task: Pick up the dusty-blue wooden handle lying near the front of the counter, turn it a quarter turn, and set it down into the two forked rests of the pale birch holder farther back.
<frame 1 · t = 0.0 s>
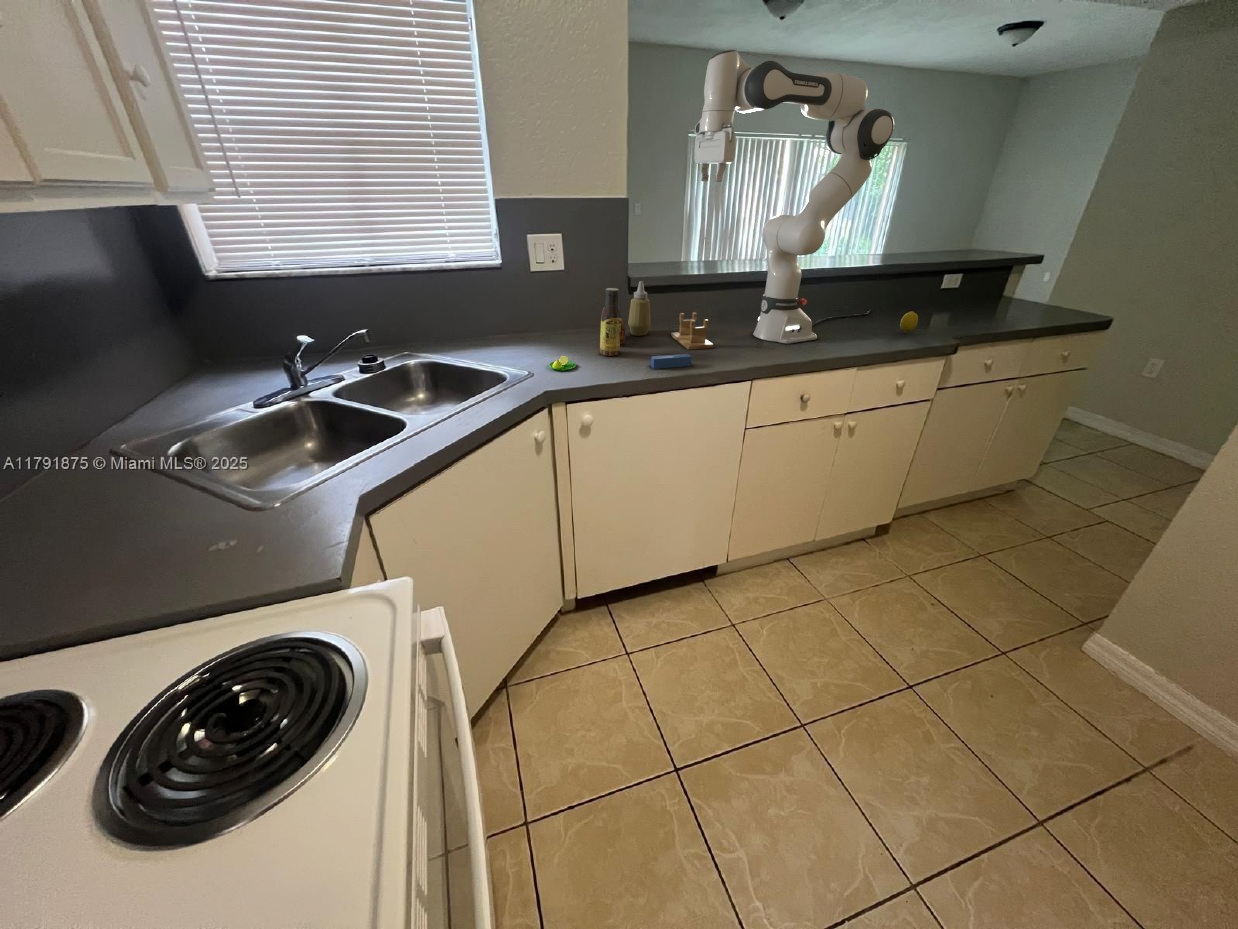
hand: (711, 181, 144), 48 cm above the worktop, tool pointing down, fingers open, 8 cm apart
holder: (691, 341, 168), on the worktop
handle: (670, 366, 146), on the worktop
sauce bottle: (610, 354, 155), on the worktop
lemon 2: (562, 367, 143), on the worktop
squeeze bottle: (638, 334, 175), on the worktop
lemon: (905, 333, 184), on the worktop
tin: (614, 341, 167), on the worktop
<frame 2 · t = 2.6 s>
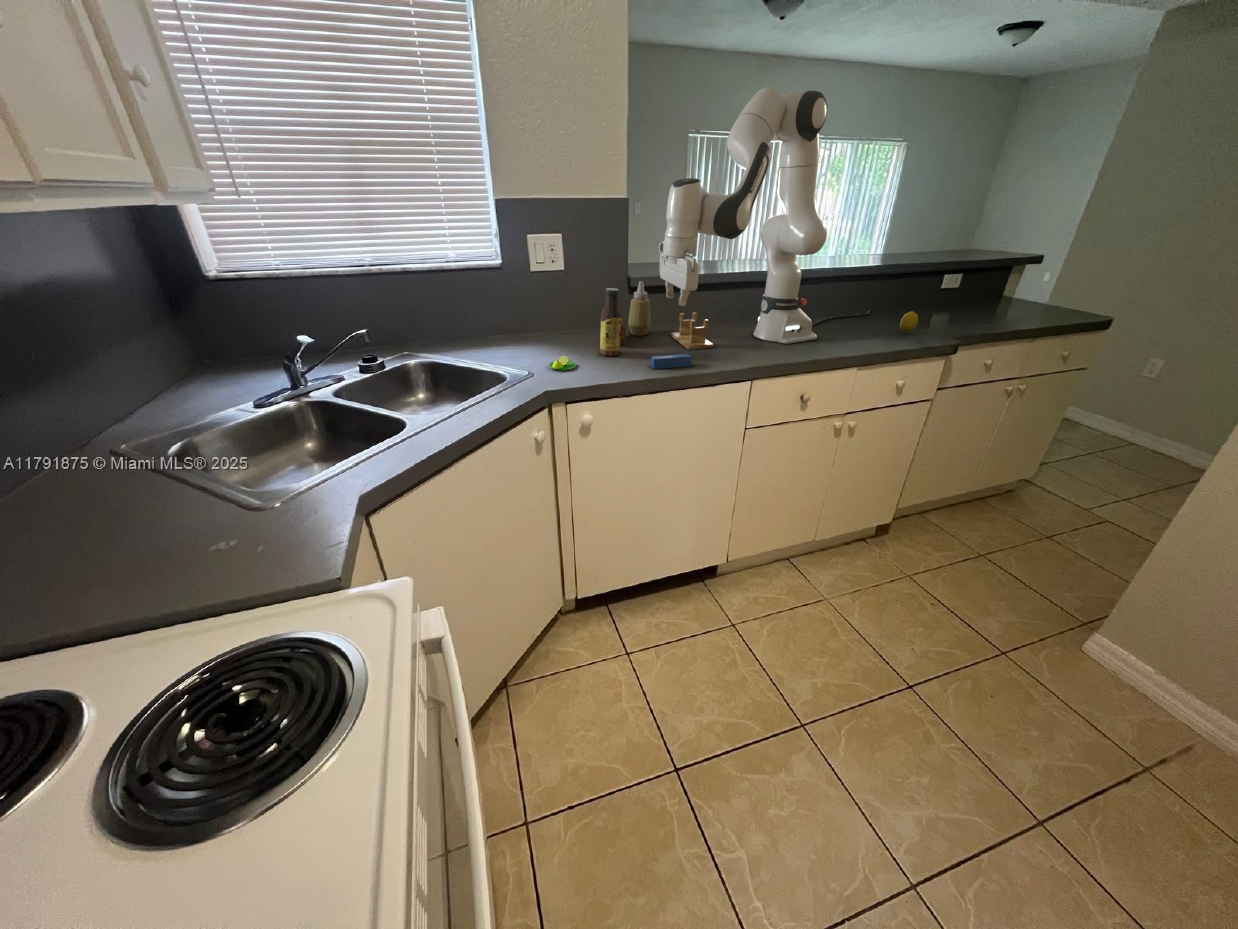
hand: (675, 301, 137), 19 cm above the worktop, tool pointing down, fingers open, 8 cm apart
nothing on the worktop moved.
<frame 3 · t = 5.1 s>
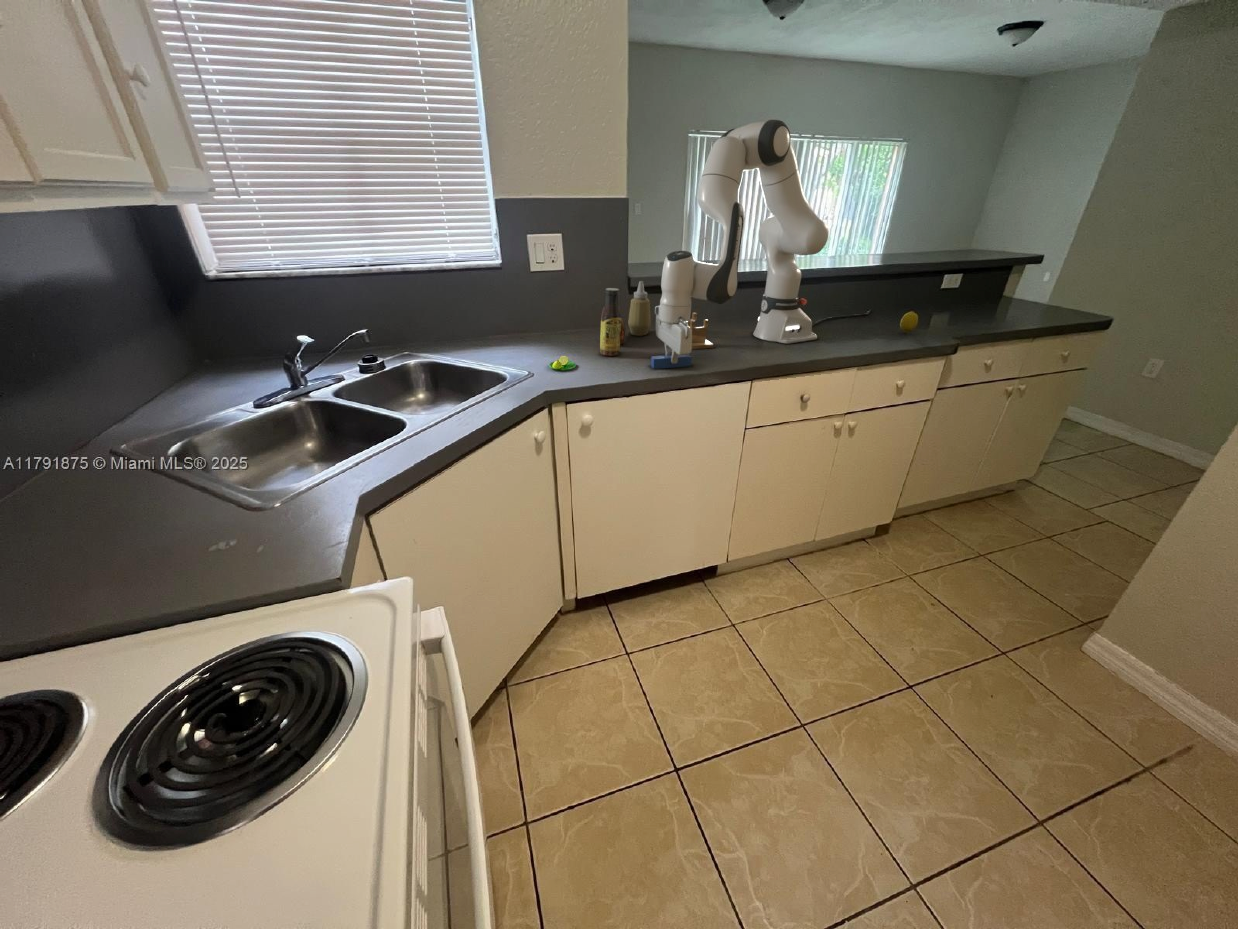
hand: (671, 360, 145), 2 cm above the worktop, tool pointing down, fingers closed on handle, 2 cm apart
handle: (670, 366, 146), on the worktop, touching gripper
everything else where it was.
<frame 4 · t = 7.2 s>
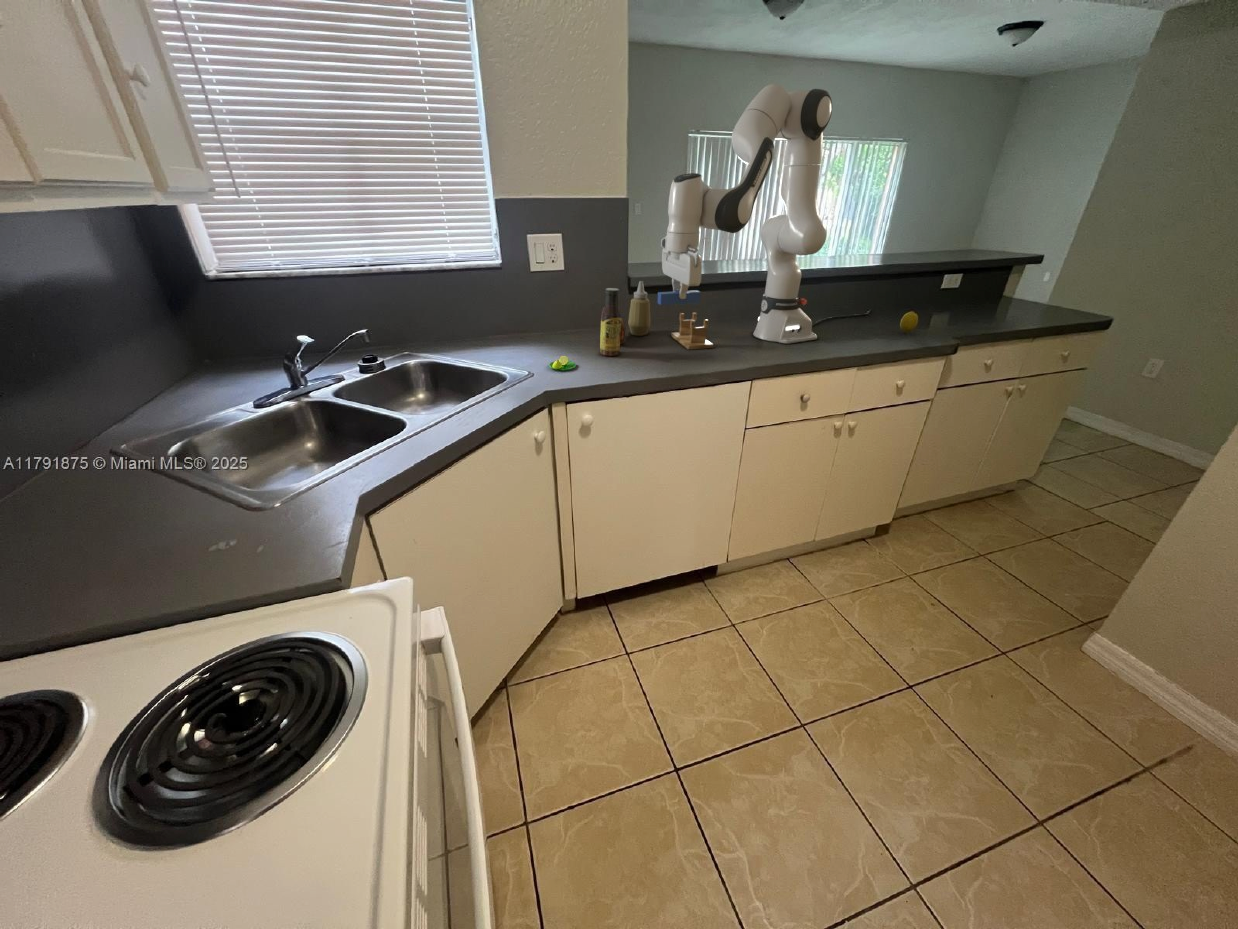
hand: (679, 296, 138), 20 cm above the worktop, tool pointing down, fingers closed on handle, 2 cm apart
handle: (678, 302, 139), point 18 cm above the worktop, touching gripper
everything else where it was.
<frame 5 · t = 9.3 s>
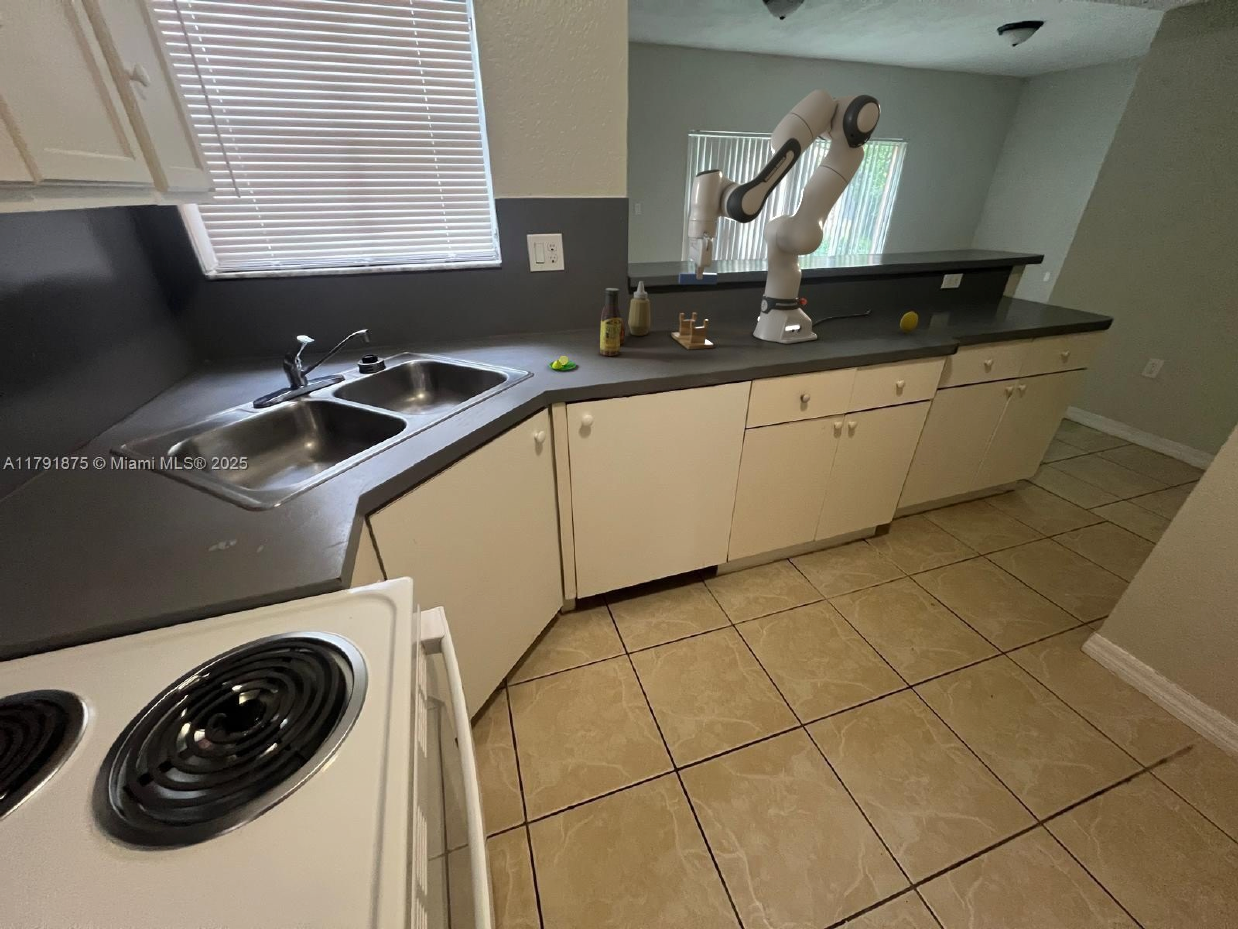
hand: (698, 277, 157), 21 cm above the worktop, tool pointing down, fingers closed on handle, 2 cm apart
handle: (697, 283, 158), point 19 cm above the worktop, touching gripper
everything else where it was.
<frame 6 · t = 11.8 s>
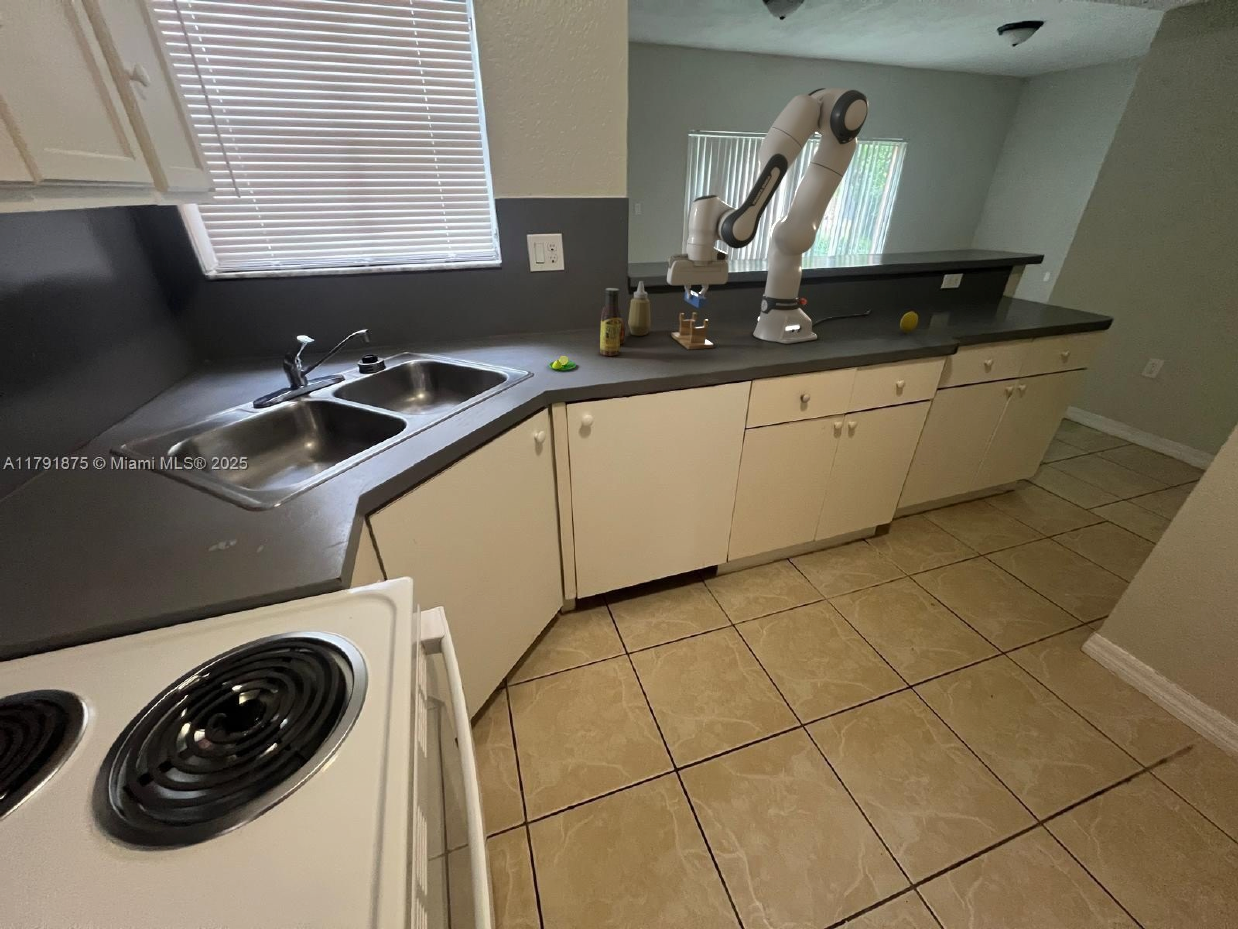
hand: (695, 298, 161), 15 cm above the worktop, tool pointing down, fingers closed on handle, 2 cm apart
handle: (694, 303, 162), point 13 cm above the worktop, touching gripper
everything else where it was.
when the fingers open (8 cm above the worktop, at t = 13.6 s): handle stays where it is, resting on holder.
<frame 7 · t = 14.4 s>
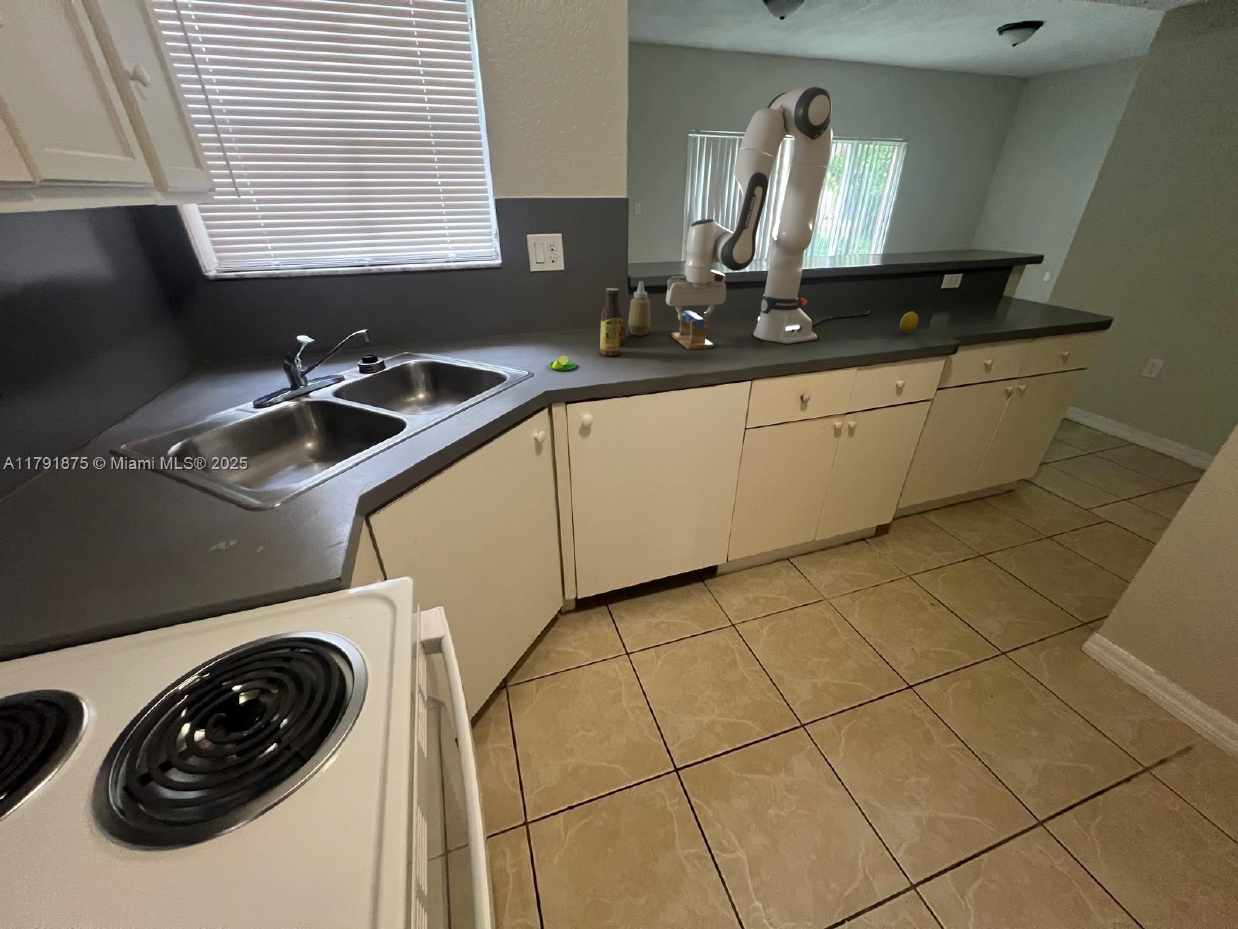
hand: (693, 318, 164), 8 cm above the worktop, tool pointing down, fingers open, 8 cm apart
handle: (692, 323, 165), point 6 cm above the worktop, touching holder
everything else where it was.
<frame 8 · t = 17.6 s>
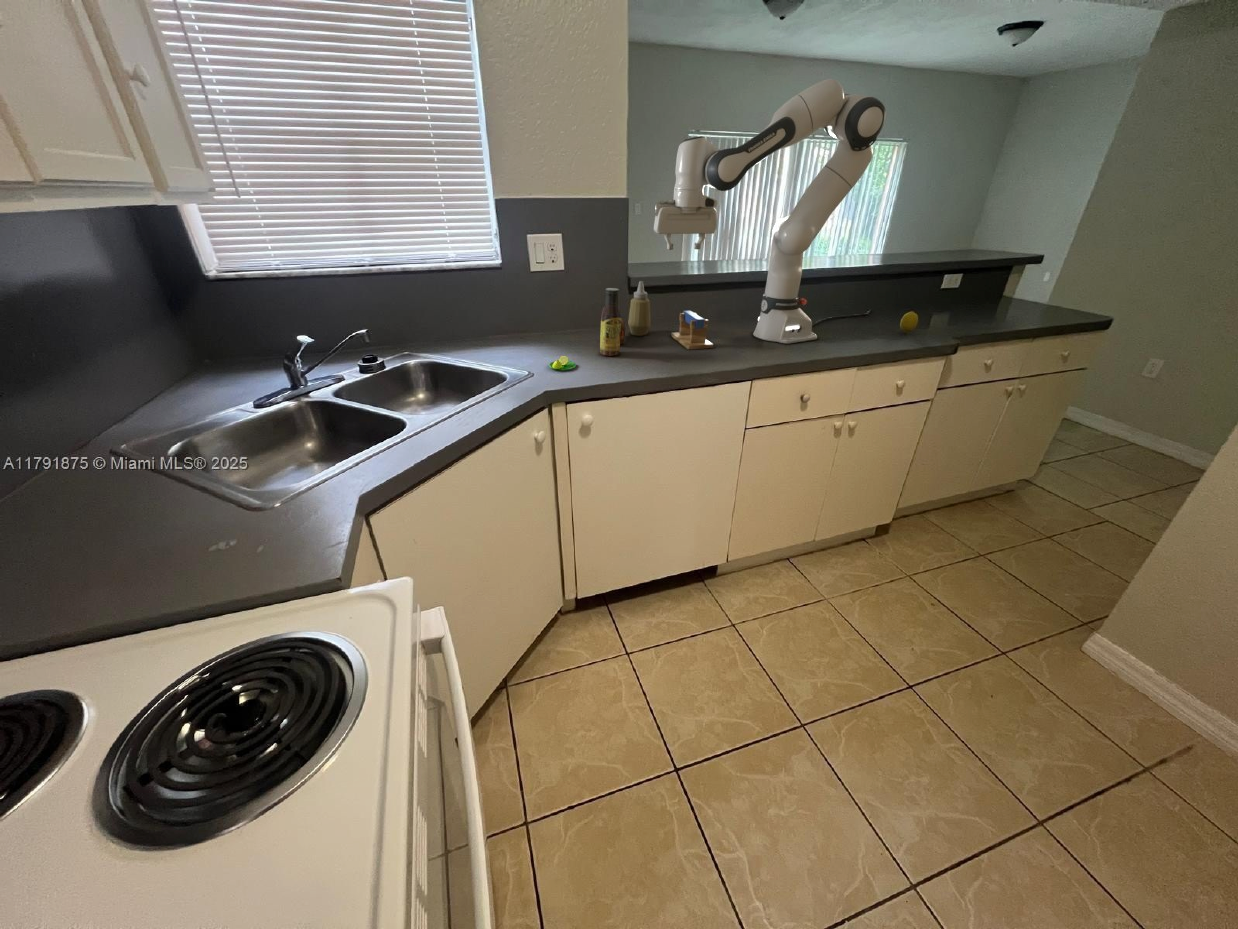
hand: (683, 249, 156), 29 cm above the worktop, tool pointing down, fingers open, 8 cm apart
nothing on the worktop moved.
at the end: handle 0.2 cm off-centre on the holder, point 6.2 cm above the holder's base; the gripper is holding nothing; handle touching holder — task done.
